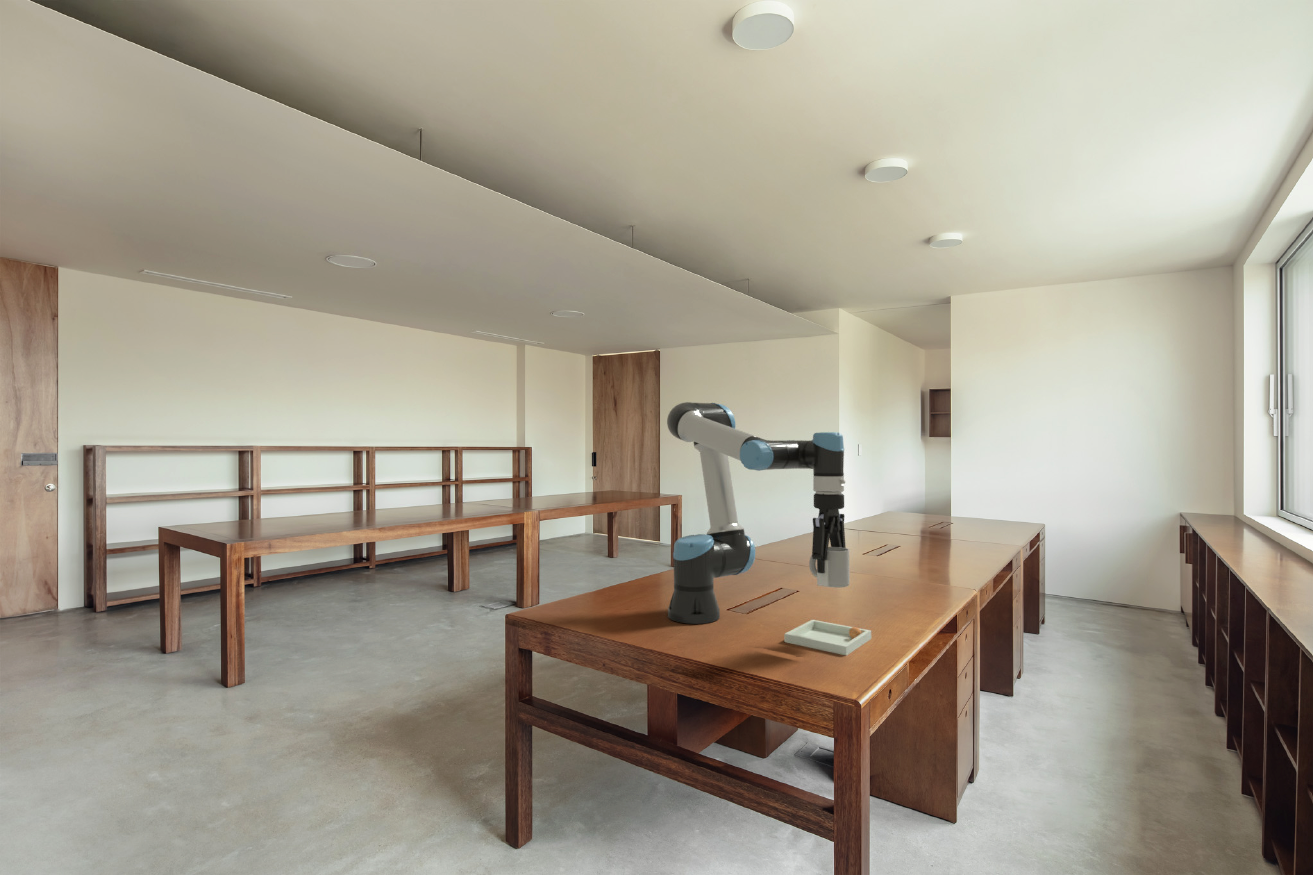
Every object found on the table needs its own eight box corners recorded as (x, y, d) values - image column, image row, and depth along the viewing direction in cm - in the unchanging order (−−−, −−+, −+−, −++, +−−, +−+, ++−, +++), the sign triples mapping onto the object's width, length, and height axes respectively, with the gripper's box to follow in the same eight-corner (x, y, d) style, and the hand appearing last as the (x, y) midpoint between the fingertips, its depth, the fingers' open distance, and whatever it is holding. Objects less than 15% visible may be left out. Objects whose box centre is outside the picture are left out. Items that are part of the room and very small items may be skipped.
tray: (784, 645, 153) (784, 633, 153) (812, 630, 165) (812, 619, 165) (846, 659, 143) (846, 646, 143) (871, 642, 155) (871, 630, 155)
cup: (846, 588, 150) (845, 552, 150) (805, 584, 155) (805, 549, 155) (852, 583, 156) (852, 548, 156) (813, 579, 161) (813, 545, 161)
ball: (847, 639, 155) (847, 627, 155) (851, 636, 157) (851, 624, 157) (858, 641, 153) (858, 629, 153) (863, 638, 155) (863, 626, 155)
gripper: (825, 496, 146) (826, 592, 145) (858, 491, 161) (859, 578, 161) (796, 494, 151) (797, 588, 150) (831, 489, 166) (832, 574, 166)
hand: (829, 582), depth 155 cm, fingers closed on cup, 7 cm apart
